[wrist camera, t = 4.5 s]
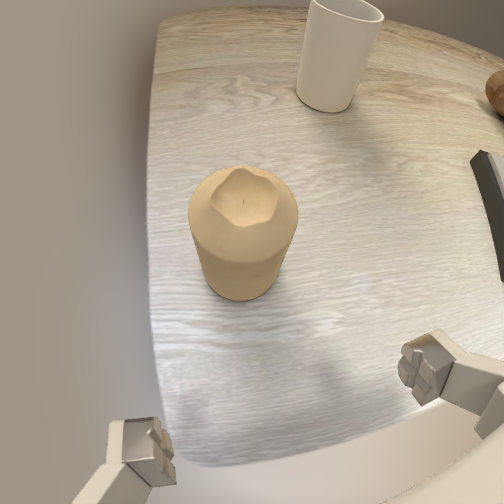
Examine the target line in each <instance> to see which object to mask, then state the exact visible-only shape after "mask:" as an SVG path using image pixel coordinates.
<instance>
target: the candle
mask: <svg viewBox="0 0 504 504" xmlns="http://www.w3.org/2000/svg"><path fill="white" fill-rule="evenodd" d="M188 220H189V225H190V229H191V232H192V236H193V239H194V242H195V246H196V249H197V252H198V256H199V259H200V262H201V266H202V269H203V272H204V275H205V278H206V280H207V282H208V283H209V285H210V286H211V287H212V289H213V290H214V291H216V292H217V293H218V294H219V295H221V296H223V297H225V298H227V299H230V300H235V301H246V300H251V299H254V298H256V297H258V296H260V295H262V294H263V293H264V292H266V291H267V290H268V289H269V288H270V286H271V285H272V283H273V282H274V280H275V278H276V276H277V274H278V271H279V269H280V266H281V264H282V262H283V259H284V257H285V255H286V252H287V250H288V248H289V245H290V243H291V240H292V238H293V236H294V233H295V231H296V227H297V223H298V207H297V203H296V200H295V198H294V196H293V194H292V192H291V190H290V189H289V188H288V186H287V185H286V184H285V183H284V182H283V181H282V180H281V179H279V178H278V177H277V176H275V175H273V174H272V173H270V172H268V171H265V170H263V169H259V168H255V167H249V166H236V167H230V168H226V169H222V170H220V171H217V172H215V173H213V174H212V175H210V176H209V177H207V178H206V179H205V180H204V181H203V182H201V184H200V185H199V186H198V187H197V188H196V190H195V191H194V193H193V195H192V197H191V200H190V203H189V208H188Z"/></svg>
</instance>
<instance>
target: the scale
mask: <svg viewBox="0 0 504 504" xmlns="http://www.w3.org/2000/svg"><path fill="white" fill-rule="evenodd" d="M470 163H471V166H472V169H473V171H474V174H475V177H476V180H477V183H478V186H479V189H480V192H481V195H482V199H483V202H484V205H485V209H486V212H487V216H488V220H489V223H490V227H491V231H492V235H493V240H494V244H495V249H496V253H497V258H498V263H499V269H500V275H501V281H504V156H502V155H500V154H497V153H494V152H492V151H490V152H489V153H488V152H485V151H482V150H479V152H478V153H477V154H476V155H475V156H474V157H473V158H472V159H471V161H470Z"/></svg>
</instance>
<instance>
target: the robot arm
mask: <svg viewBox="0 0 504 504" xmlns="http://www.w3.org/2000/svg"><path fill="white" fill-rule="evenodd" d="M401 353H402V355H403V357H402V358H401V359H400V361H399V363H398V373H399V377H400V379H401V381H402V382H403V383H404V385H405V386H408V387H411V388H412V395H413V396H414V397H415V399H416V400H417V401H418V403H419V404H420V405H421V406H423V405H425V404H427V403H429V402H431V401H433V400H434V399H436V398H438V397H440V398H442V399H444V400H446V401H448V402H450V403H452V404H455V405H457V406H459V407H461V408H464V409H466V410H468V411H470V412H473V413H475V414H477V415H479V416H480V418H479V419H478V421H477V422H476V424H475V426H474V429H475V431H476V432H477V433H478V435H479V436H480V437H481V438H482V441H481V442H479V443H478V444H477V445H476V446H474V447H473V448H472V449H470V450H469V451H468V452H466V453H465V454H463V455H462V456H461V457H459V458H458V459H456V460H455V461H453V462H452V463H451V464H449V465H448V466H446V467H445V468H443V469H441V470H440V471H438V472H437V473H435V474H434V475H432V476H430V477H429V478H427V479H425V480H424V481H422V482H420V483H419V484H417V485H415V486H413V487H411V488H410V489H408V490H406V491H404V492H403V493H401V494H399V495H397V496H395V497H393V498H391V499H389V500H387V501H385V502H383V503H380V504H504V361H500V360H497V359H493V358H489V357H486V356H482V355H478V354H475V353H471V352H469V353H466V352H465V351H464V350H463V349H462V348H460V347H459V346H458V345H457V344H456V343H455V342H454V341H453V340H452V339H451V338H450V337H449V336H448V335H447V334H445V333H444V332H443V331H442V330H441V329H435V330H433V331H431V332H429V333H427V334H424V335H422V336H420V337H418V338H416V339H414V340H412V341H410V342H408V343H406V344H404V345H403V347H402V350H401ZM173 456H174V452H173V446H172V442H171V439H170V436H169V434H168V433H167V431H166V430H165V429H162V428H161V422H160V420H159V419H158V417H149V418H139V419H128V420H118V421H111V423H110V425H109V430H108V440H107V452H106V464H101V465H100V467H99V468H98V469H97V471H96V472H95V473H94V475H93V476H92V477H91V478H90V480H89V481H88V482H87V484H86V485H85V486H84V487H83V489H82V490H81V491H80V493H79V494H78V495H77V496H76V498H75V499H74V500H73V502H72V503H71V504H144V503H145V502H146V500H147V498H148V495H149V494H150V492H151V490H152V488H151V487H160V486H168V485H176V475H175V474H176V473H175V467H174V466H173V464H172V463H171V462H170V461H171V459H172V458H173Z"/></svg>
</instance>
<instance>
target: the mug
mask: <svg viewBox="0 0 504 504" xmlns="http://www.w3.org/2000/svg"><path fill="white" fill-rule="evenodd" d="M383 20H384V16H383V14H382V13H381V12H380V11H379V10H378V9H377V8H375V7H374V6H372V5H371V4H369V3H367V2H365V1H363V0H311V3H310V8H309V13H308V19H307V25H306V31H305V37H304V43H303V49H302V55H301V61H300V66H299V72H298V79H297V86H296V92H297V95H298V97H299V98H300V99H301V100H302V101H303V102H304V103H305V104H306V105H308V106H310V107H312V108H314V109H316V110H319V111H323V112H330V113H334V112H340V111H343V110H345V109H346V108H347V107H348V106H349V104H350V102H351V100H352V97H353V95H354V93H355V91H356V88H357V86H358V84H359V81H360V79H361V76H362V74H363V71H364V69H365V66H366V64H367V62H368V59H369V57H370V54H371V52H372V49H373V47H374V44H375V42H376V39H377V37H378V34H379V31H380V28H381V25H382V22H383Z"/></svg>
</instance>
